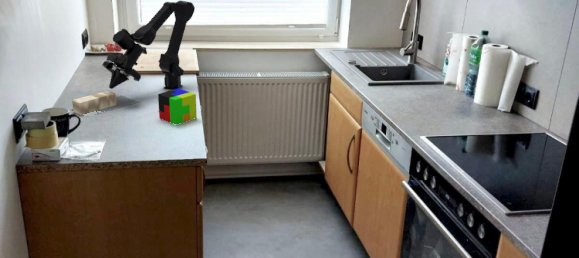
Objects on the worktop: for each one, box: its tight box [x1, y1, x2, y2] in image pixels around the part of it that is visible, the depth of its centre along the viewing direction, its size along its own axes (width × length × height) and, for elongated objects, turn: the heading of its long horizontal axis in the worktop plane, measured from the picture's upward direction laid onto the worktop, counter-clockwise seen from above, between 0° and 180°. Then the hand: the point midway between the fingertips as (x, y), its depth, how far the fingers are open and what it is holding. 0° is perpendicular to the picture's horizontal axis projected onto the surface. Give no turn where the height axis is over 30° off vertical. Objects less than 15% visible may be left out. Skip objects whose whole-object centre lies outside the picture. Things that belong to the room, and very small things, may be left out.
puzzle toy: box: [157, 88, 198, 125], centre depth 204 cm, size 10×10×10 cm
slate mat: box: [70, 95, 139, 113], centre depth 214 cm, size 24×12×1 cm, turn 143°
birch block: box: [72, 90, 117, 116], centre depth 210 cm, size 5×5×16 cm
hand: (110, 88), depth 214 cm, fingers closed
